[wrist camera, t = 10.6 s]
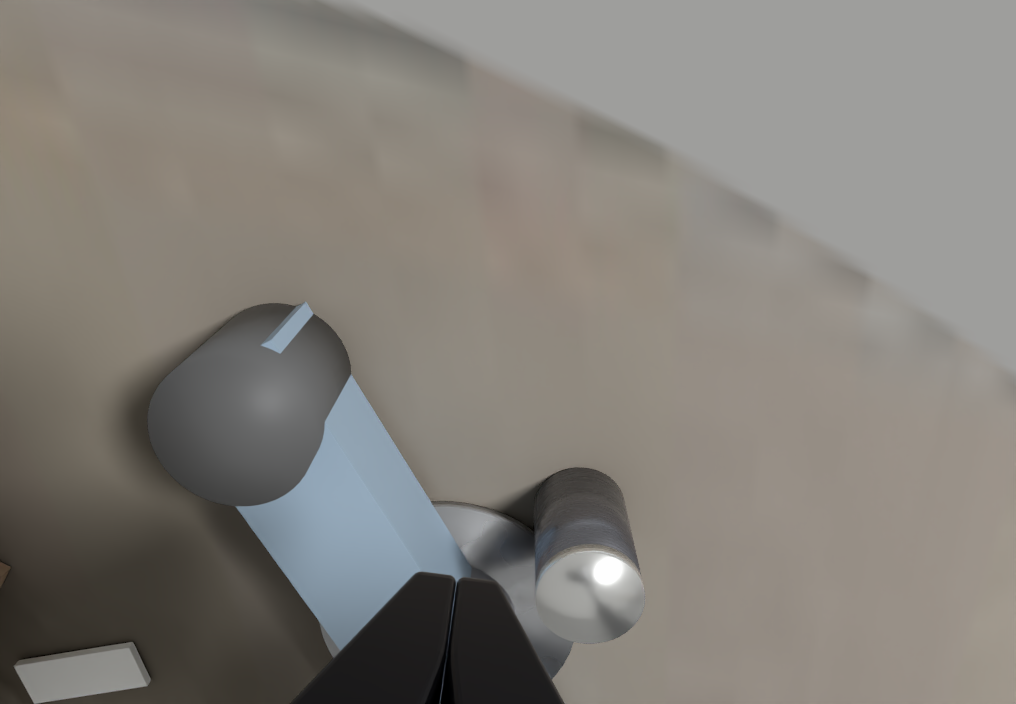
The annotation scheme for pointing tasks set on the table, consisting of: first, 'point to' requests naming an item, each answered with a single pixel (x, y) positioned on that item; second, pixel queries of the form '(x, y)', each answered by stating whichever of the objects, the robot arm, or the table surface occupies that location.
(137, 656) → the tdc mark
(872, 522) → the table surface
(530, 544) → the plate
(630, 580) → the post
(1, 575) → the tray
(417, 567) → the crank
